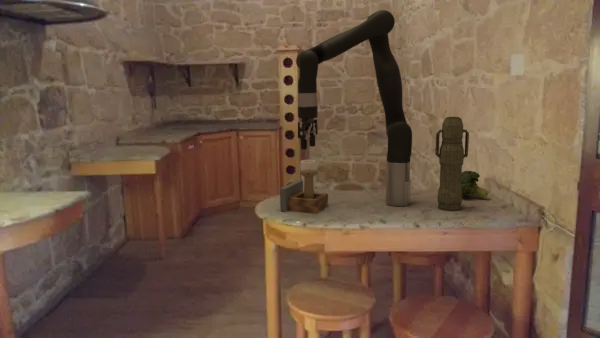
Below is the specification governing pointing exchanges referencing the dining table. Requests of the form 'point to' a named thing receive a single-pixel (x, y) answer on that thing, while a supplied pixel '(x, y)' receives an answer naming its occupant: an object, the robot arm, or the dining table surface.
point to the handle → (308, 183)
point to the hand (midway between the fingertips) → (308, 147)
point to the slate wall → (289, 193)
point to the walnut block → (307, 203)
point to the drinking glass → (308, 166)
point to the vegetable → (472, 185)
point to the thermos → (451, 163)
